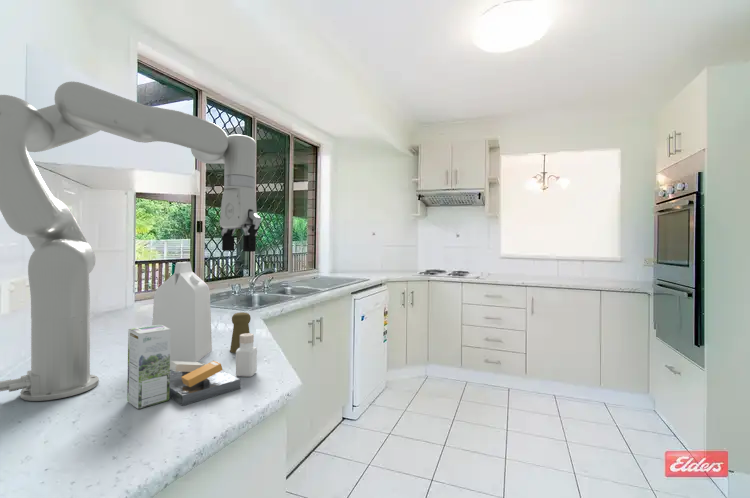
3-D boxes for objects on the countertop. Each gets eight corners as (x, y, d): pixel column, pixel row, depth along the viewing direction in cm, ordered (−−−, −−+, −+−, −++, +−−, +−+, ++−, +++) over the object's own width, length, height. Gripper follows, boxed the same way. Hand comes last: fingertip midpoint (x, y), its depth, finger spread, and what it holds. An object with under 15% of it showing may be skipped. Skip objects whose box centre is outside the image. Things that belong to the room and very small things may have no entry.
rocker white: (174, 371, 79) (176, 363, 79) (168, 368, 81) (170, 360, 81) (206, 372, 84) (208, 365, 84) (200, 369, 86) (202, 362, 86)
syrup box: (158, 393, 78) (158, 323, 78) (170, 401, 74) (171, 327, 74) (126, 402, 73) (127, 327, 73) (138, 410, 69) (138, 332, 69)
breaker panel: (182, 405, 72) (182, 390, 72) (154, 387, 81) (155, 374, 81) (240, 388, 81) (240, 374, 81) (209, 373, 90) (209, 361, 90)
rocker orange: (189, 387, 75) (187, 380, 74) (183, 383, 77) (181, 376, 77) (222, 369, 80) (220, 363, 80) (215, 366, 82) (213, 360, 82)
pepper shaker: (247, 353, 107) (247, 314, 107) (226, 353, 107) (226, 314, 107) (254, 347, 113) (254, 311, 113) (234, 347, 113) (235, 310, 113)
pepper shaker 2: (241, 371, 92) (241, 332, 91) (257, 371, 91) (257, 332, 91) (234, 377, 88) (235, 336, 87) (251, 377, 87) (252, 336, 87)
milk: (171, 350, 109) (171, 261, 109) (212, 350, 110) (212, 261, 110) (149, 363, 97) (150, 263, 97) (195, 363, 98) (196, 263, 98)
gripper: (208, 185, 99) (207, 250, 99) (246, 179, 88) (244, 251, 88) (234, 189, 105) (233, 250, 105) (272, 183, 94) (271, 252, 94)
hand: (238, 251), depth 97 cm, fingers open, 9 cm apart
